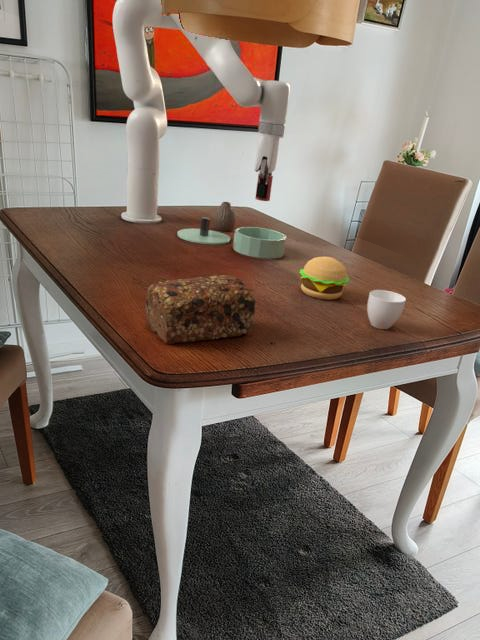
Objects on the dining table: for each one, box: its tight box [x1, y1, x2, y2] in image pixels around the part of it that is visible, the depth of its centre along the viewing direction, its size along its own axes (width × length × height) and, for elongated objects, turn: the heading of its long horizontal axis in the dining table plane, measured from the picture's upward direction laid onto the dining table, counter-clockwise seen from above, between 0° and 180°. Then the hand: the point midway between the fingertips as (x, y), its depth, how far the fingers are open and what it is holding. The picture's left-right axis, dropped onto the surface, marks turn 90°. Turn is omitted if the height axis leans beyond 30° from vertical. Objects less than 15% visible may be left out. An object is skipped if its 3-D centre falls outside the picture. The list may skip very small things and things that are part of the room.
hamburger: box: [299, 256, 350, 301], centre depth 139 cm, size 12×12×9 cm
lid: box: [176, 216, 231, 246], centre depth 171 cm, size 16×16×6 cm
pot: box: [232, 226, 288, 260], centre depth 166 cm, size 15×15×6 cm
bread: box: [145, 274, 257, 345], centre depth 109 cm, size 19×11×10 cm, turn 119°
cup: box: [366, 289, 407, 330], centre depth 126 cm, size 8×10×7 cm
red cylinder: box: [255, 173, 274, 202], centre depth 176 cm, size 4×4×7 cm
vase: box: [213, 201, 236, 233], centre depth 183 cm, size 7×7×9 cm
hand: (262, 195), depth 177 cm, fingers closed on red cylinder, 4 cm apart
